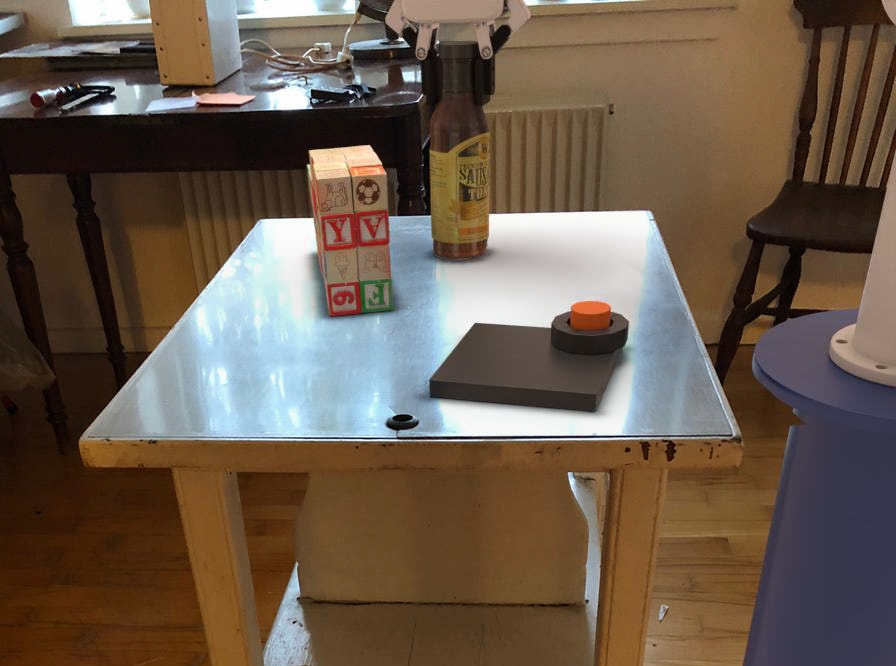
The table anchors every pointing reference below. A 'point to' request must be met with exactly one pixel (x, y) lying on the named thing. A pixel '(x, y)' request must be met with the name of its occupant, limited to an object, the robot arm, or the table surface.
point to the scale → (533, 364)
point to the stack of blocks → (351, 228)
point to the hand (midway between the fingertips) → (458, 101)
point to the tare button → (590, 315)
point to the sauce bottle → (459, 158)
